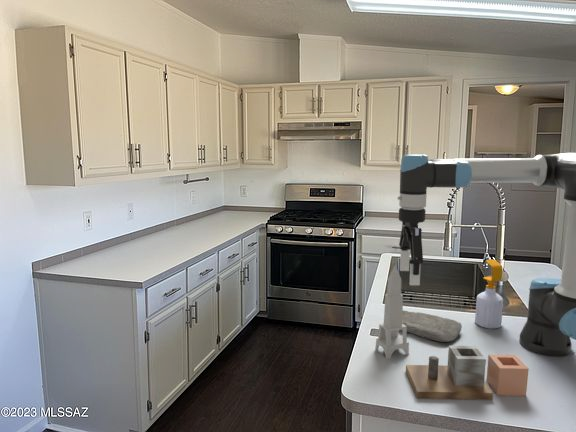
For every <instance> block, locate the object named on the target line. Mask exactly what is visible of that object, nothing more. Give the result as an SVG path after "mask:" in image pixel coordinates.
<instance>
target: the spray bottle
mask: <svg viewBox="0 0 576 432" xmlns="http://www.w3.org/2000/svg"><path fill="white" fill-rule="evenodd" d="M485 262H486V264H488V265H489V267H491V276H484V277H483V280H485V281H486V282H487V283H488V284H486V285H485V290H484V291H482V292H480V293H479V294H477V296H476V301H475V302H476V304H475V316H474V317H475V318H474V322H475V323H476V324H477V325H478V326H479V327H483V328H486V329H490V330H491V329H498V328H500V327H502V322H503V321H502V320H503V319H502V318H503V310H504V309H503V308H504V299H503V297H502V296H501V295H500V294H499V293H497V292H496V288H497V287H496V285H494V284H495V283H496V282H499V281H500V282H501V281H502V279H503V266H502V264H501V263H499V261H497V260H496V259H486V260H485Z"/></svg>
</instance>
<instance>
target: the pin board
mask: <svg viewBox="0 0 576 432" xmlns="http://www.w3.org/2000/svg"><path fill="white" fill-rule="evenodd" d="M447 355H448V356H447V365H439V362H440V361H439V359H440V358H439V357H437V356H435V355H431V356H429V357H428V364H425V365H424V364H405V365H406V366H405V372H406V376H407V377H408V379H409V382H410V384H411V387H412V389H413V391H414V394H415V396H416V399H428V400H429V399H433V400H434V399H436V400H437V399H438V400H441V399H443V400H445V399H446V400H479V401H480V400H483V401H488V400H489V401H492V400H494V399H493V398H494V392H493V390H492V389H491V388H490V387H489V385H488V384H487V383H486V382H487V381H485V376H486V363H487V359H486V357H485V356H484V354H482V352H481V351H480V350H479V349H478V347H477V346H476V345H475V346H474V345H448V351H447Z"/></svg>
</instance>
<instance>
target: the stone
mask: <svg viewBox="0 0 576 432" xmlns="http://www.w3.org/2000/svg"><path fill="white" fill-rule="evenodd" d="M402 324H404V325H405V326H406V327H407V333H410V334H412V335H416V336H419V337H422V338H425V339H430V340H433V341H435V342H440V343H449V342H453V341H455V339H456V338H458V336H459V335H460V334H461V331H462V325H463V324H462V323H461V322H458V321H457V320H454V319H450V318H447V317H441V316H438V315H434V314H430V313H429V314H428V313H424V312H417V311H416V312H415V311H408V310H403V316H402ZM401 331H403V329H402V330H401Z"/></svg>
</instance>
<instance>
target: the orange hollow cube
mask: <svg viewBox="0 0 576 432" xmlns="http://www.w3.org/2000/svg"><path fill="white" fill-rule="evenodd" d="M528 378H529V368H528V366H527V365H526V364H525V363H524V362H523V361H522V360H521V359H520V358H519V357H518V356H517V355H516V354H488V355H487V368H486V382H487V383H488V384H489V386H490V387H491V388H492V391H494V393H496V396H510V397H511V396H516V397H517V396H519V397H524V396H525V397H526V396H527V391H528V389H527V388H528V380H529V379H528Z"/></svg>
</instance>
